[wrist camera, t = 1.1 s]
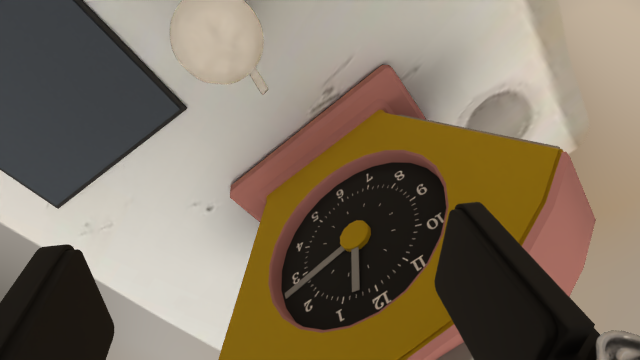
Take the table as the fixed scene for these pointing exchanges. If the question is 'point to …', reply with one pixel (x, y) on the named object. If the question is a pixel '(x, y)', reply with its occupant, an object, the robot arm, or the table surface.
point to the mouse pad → (71, 97)
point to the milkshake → (218, 40)
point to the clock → (387, 228)
